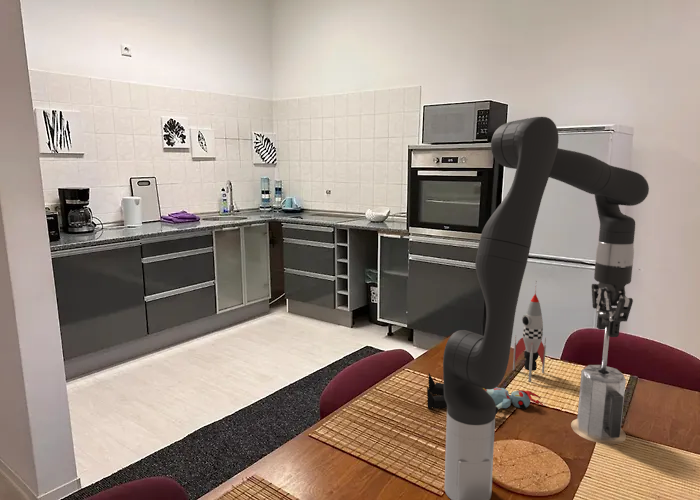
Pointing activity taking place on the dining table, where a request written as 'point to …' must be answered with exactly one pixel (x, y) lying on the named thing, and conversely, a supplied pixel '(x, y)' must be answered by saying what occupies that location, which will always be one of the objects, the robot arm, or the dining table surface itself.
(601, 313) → the plunger
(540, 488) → the dining table surface
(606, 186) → the robot arm
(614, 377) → the french press
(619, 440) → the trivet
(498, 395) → the toy
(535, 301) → the toy
